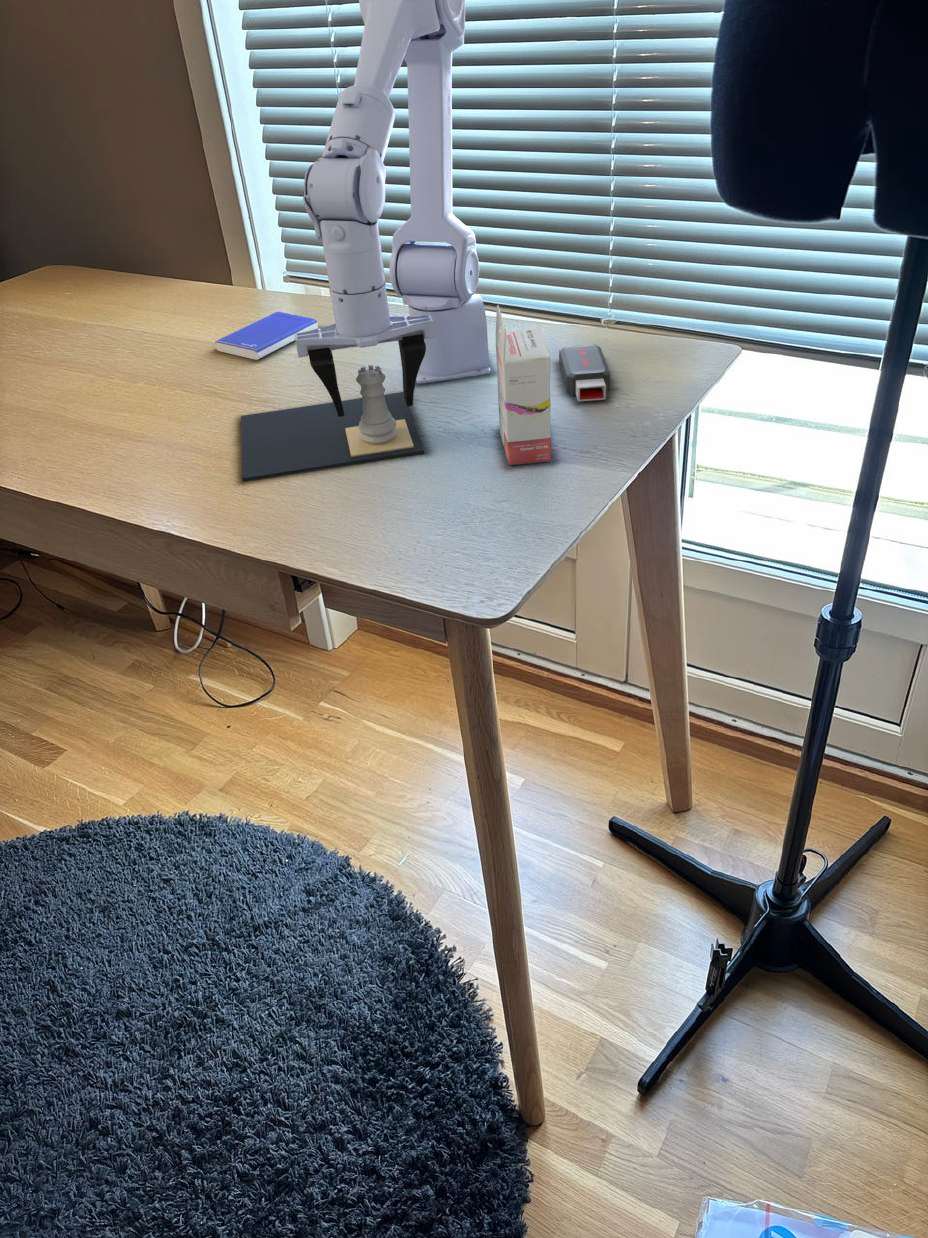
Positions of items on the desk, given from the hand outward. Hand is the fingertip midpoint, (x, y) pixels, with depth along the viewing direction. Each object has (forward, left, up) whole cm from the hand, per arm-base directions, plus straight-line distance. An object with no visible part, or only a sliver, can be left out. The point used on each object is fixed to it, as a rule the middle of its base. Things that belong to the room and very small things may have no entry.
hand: (374, 407), depth 106 cm
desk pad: (+6, -3, -4) cm, 8 cm away
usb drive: (-26, -7, -4) cm, 28 cm away
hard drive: (+12, -36, -4) cm, 38 cm away
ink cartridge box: (-15, +7, -4) cm, 17 cm away
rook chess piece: (0, 0, -4) cm, 4 cm away
